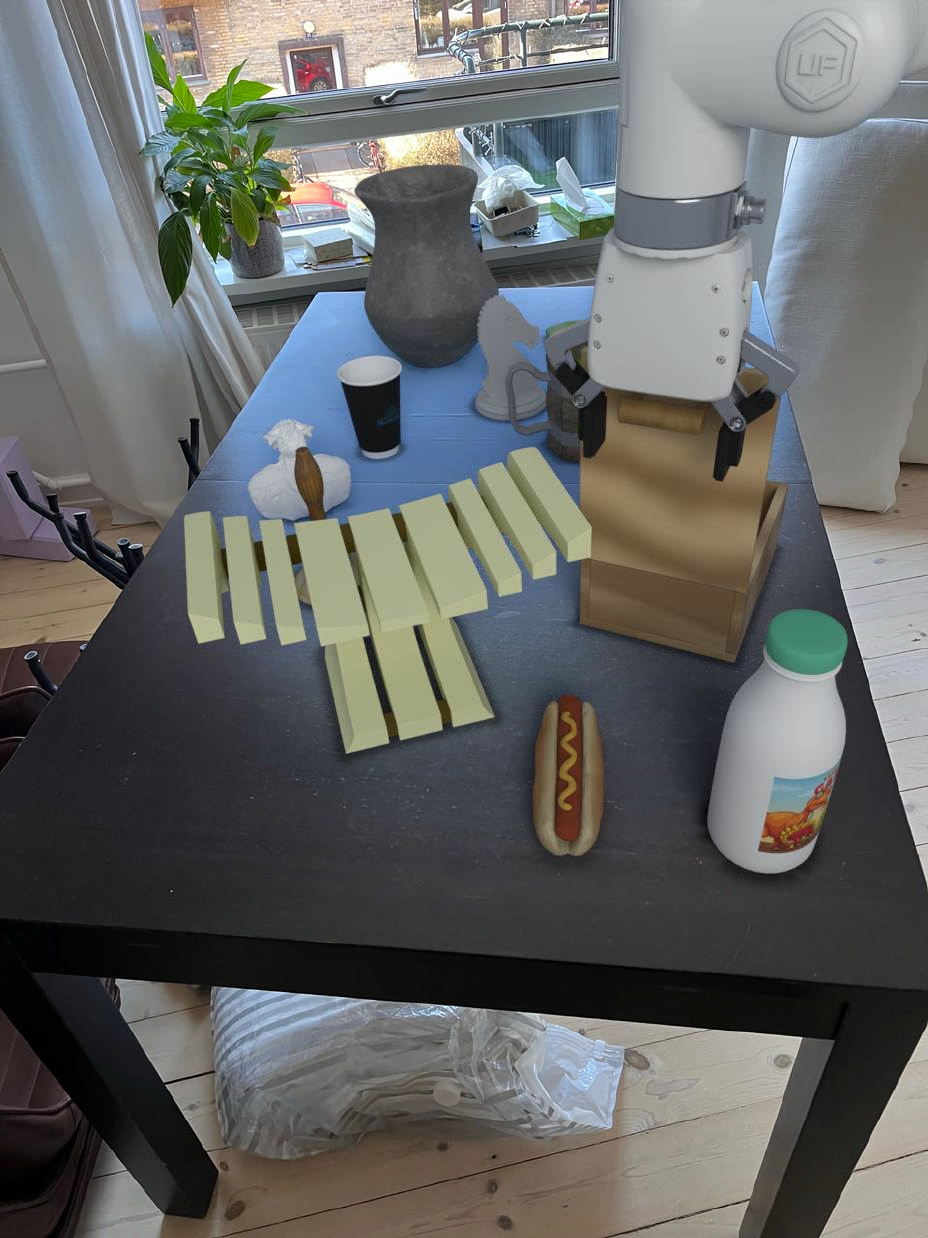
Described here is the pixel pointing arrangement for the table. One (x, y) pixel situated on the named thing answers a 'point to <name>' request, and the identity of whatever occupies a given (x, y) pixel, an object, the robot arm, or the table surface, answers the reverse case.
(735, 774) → the milk bottle
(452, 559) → the slatted curved stool
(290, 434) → the white tied sack
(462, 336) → the vase
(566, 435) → the mug
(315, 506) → the hand bell
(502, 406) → the chess piece
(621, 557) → the lid
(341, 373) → the dixie cup
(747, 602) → the box
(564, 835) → the food
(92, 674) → the table surface
